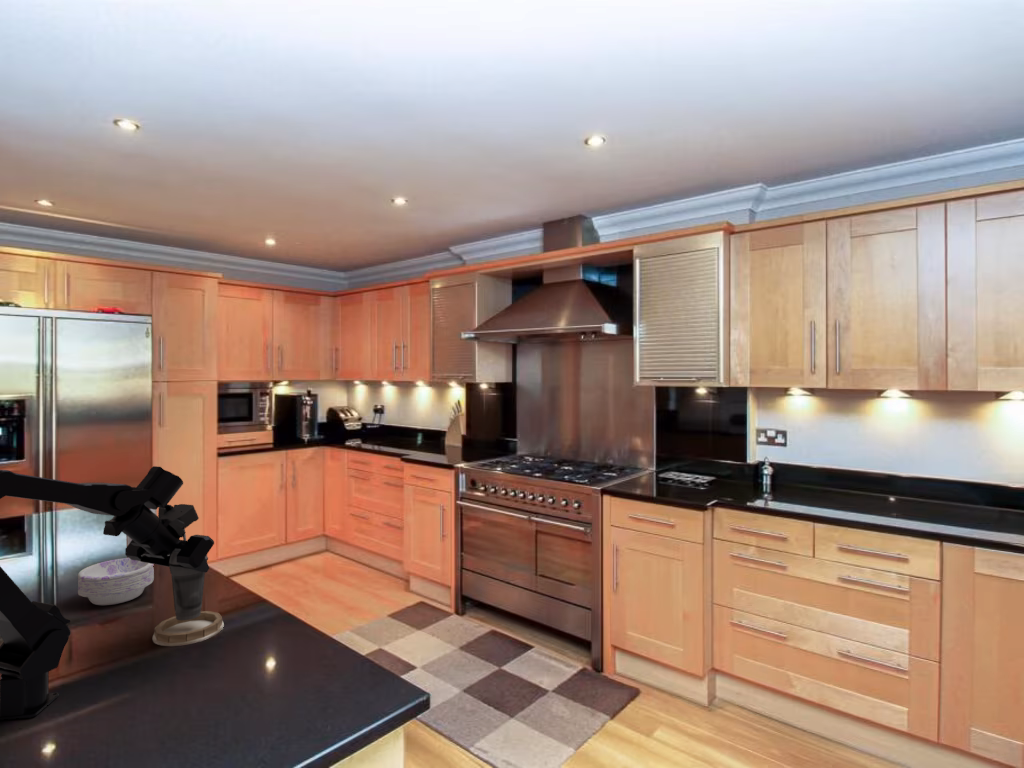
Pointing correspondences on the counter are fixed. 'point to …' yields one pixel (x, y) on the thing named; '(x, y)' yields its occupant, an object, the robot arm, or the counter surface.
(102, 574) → the paper bowls
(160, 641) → the ring holder
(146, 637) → the counter surface
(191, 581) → the beverage cup
